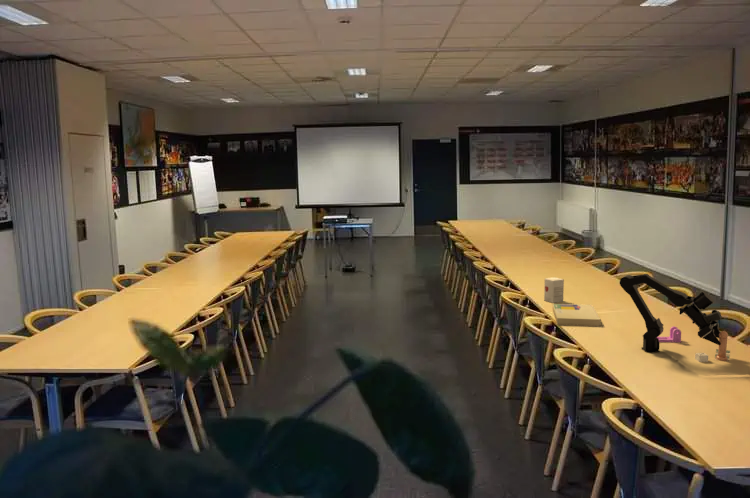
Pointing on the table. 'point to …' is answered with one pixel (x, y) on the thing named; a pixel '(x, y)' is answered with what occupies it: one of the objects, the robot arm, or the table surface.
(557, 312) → the puzzle box
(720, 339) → the pawn
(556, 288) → the supplement box
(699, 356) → the die
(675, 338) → the bracket
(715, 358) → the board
